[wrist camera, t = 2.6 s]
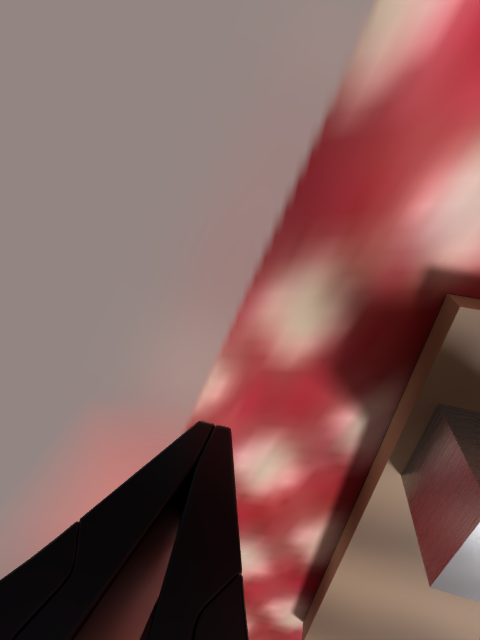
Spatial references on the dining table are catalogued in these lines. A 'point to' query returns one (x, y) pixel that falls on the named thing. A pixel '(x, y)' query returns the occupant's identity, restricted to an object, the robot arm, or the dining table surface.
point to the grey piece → (447, 500)
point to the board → (402, 510)
